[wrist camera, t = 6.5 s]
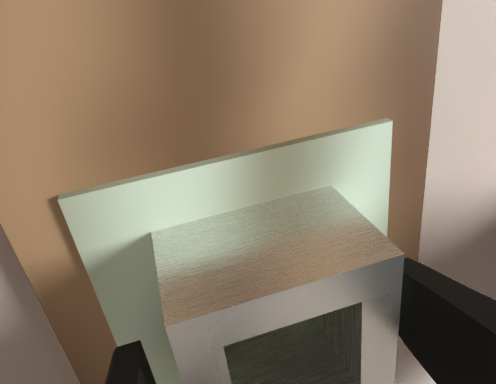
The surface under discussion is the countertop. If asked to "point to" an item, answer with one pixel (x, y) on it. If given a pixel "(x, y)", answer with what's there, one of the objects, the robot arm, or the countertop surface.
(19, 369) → the countertop surface
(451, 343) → the robot arm
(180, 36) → the board
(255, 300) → the white square frame
